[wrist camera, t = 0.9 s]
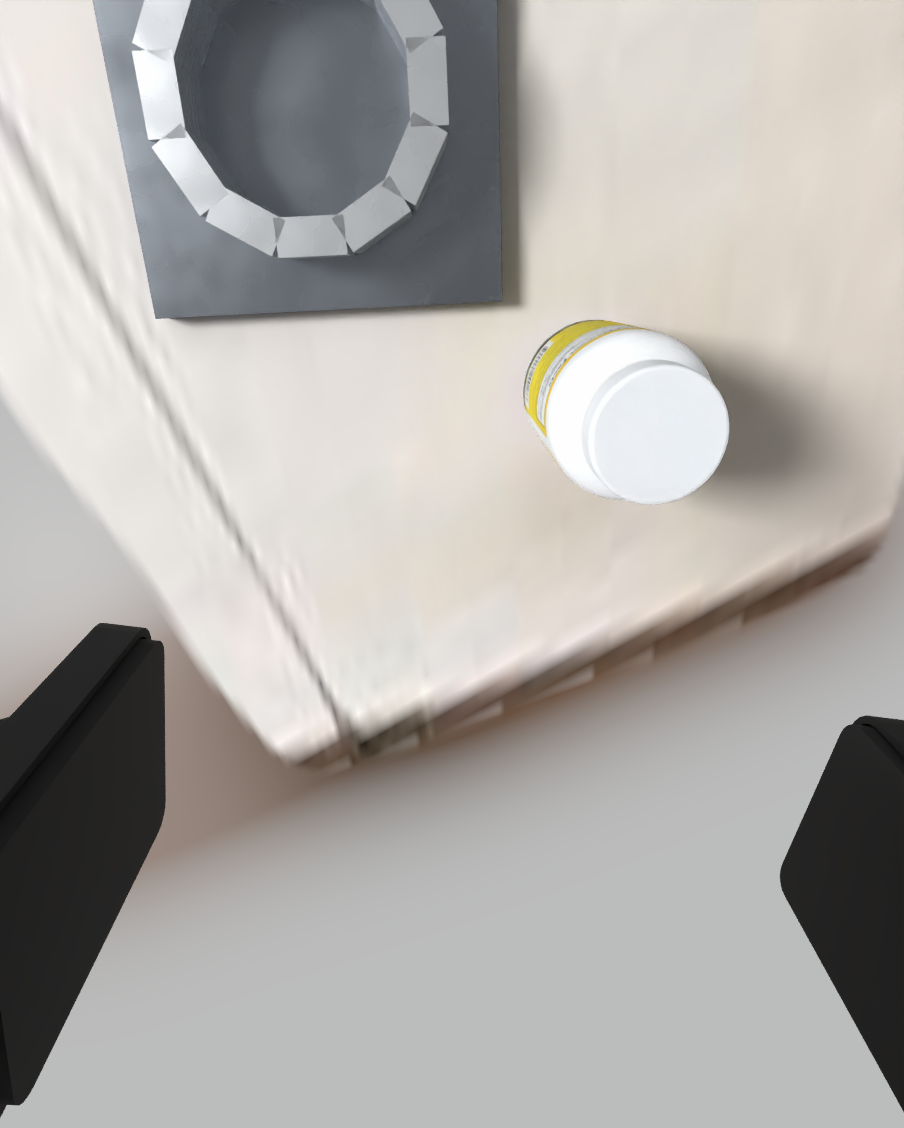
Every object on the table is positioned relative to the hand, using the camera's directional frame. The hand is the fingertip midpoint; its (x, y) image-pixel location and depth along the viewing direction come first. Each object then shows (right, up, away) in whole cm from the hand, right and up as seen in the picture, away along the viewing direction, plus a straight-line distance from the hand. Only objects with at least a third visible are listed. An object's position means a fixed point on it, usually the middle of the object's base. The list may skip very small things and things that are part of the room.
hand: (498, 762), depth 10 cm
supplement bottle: (+5, +10, +19) cm, 22 cm away
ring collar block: (-6, +19, +15) cm, 25 cm away
